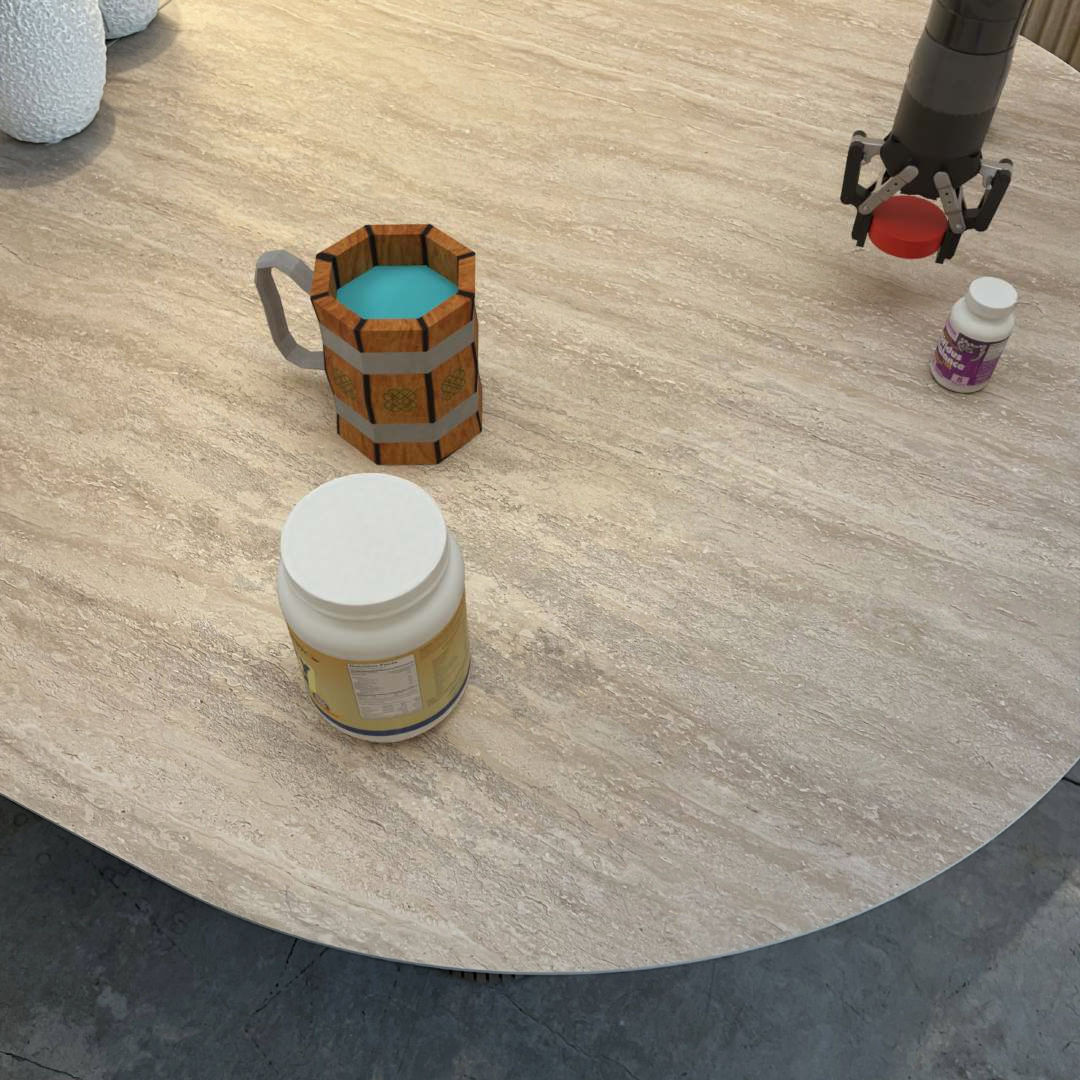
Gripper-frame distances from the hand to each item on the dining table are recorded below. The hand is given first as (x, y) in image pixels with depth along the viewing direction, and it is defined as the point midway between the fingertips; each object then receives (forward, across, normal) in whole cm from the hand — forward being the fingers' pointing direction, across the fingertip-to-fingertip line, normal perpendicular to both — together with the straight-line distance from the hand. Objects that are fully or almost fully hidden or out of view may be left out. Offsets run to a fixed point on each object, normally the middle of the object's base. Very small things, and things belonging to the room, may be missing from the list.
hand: (900, 249), depth 106 cm
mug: (+6, -40, -29) cm, 50 cm away
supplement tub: (+5, -29, -54) cm, 61 cm away
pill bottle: (+5, +8, -9) cm, 13 cm away
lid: (-3, 0, 0) cm, 3 cm away
